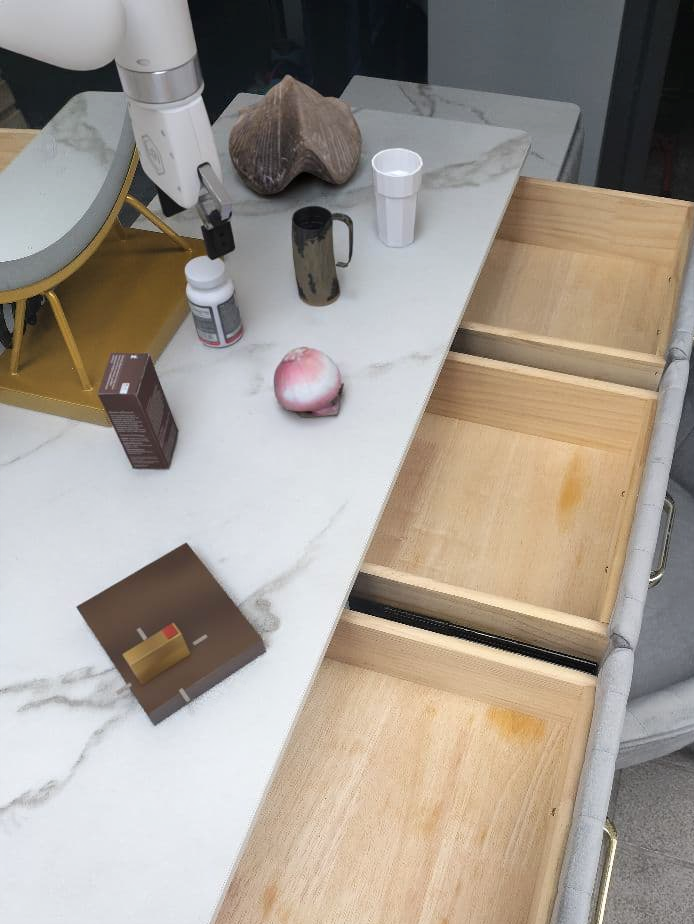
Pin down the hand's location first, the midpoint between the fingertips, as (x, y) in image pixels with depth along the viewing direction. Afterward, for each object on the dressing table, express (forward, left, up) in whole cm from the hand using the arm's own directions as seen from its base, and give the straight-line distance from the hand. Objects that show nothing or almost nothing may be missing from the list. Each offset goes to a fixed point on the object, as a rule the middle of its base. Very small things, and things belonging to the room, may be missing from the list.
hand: (199, 232), depth 91 cm
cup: (-2, +30, -15) cm, 33 cm away
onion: (+17, +2, -15) cm, 22 cm away
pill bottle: (0, 0, -15) cm, 15 cm away
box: (+12, -16, -15) cm, 25 cm away
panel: (+34, -26, -15) cm, 45 cm away
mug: (+2, +15, -15) cm, 21 cm away
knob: (+37, -29, -12) cm, 48 cm away
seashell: (-23, +28, -15) cm, 39 cm away
